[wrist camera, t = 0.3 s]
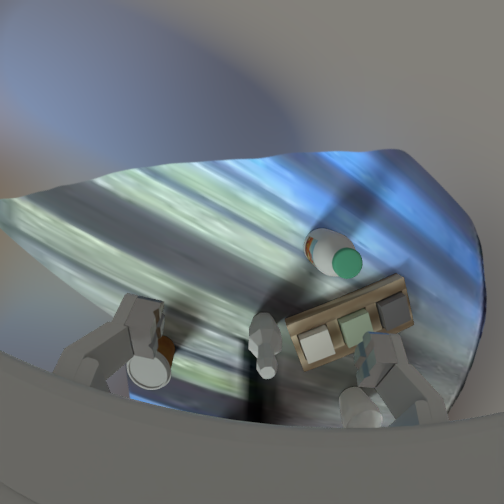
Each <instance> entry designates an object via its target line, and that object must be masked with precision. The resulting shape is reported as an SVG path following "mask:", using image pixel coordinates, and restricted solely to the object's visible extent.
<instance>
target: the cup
mask: <svg viewBox="0 0 504 504" xmlns="http://www.w3.org/2000/svg"><path fill="white" fill-rule="evenodd" d="M339 406H340V413H341V419H342V425H343V427H344V428H379V427H381V425H382V421H383V418H382V415H381V413H380V411H379V408H378V407H377V405H376V404H375V403H374V402H373V401H372V400H371V399H370V398H369V397H368V396H367V395H366V394H365V392H364V391H363V390H362V389H361V388H359V387H350V388H348V389H346V390H344V391H343V392H342V393H341V395H340V396H339Z"/></svg>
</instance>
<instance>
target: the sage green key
mask: <svg viewBox="0 0 504 504" xmlns="http://www.w3.org/2000/svg"><path fill="white" fill-rule="evenodd" d="M337 320H338V323H339V326H340V329H341V332H342V336H343V339H344V341H345V343H346V344H347V346H348V347H349V348H351V347H353V346H355V345H358V344H359V343H360V342H362V341H363V338H362V337H363V335H364V334H365V333H366V332H367V331H369V332H373V328H372V324H371V321H370V317H369V313H368V312H367V311H366V310H365V309H364V308H362V309H359V310H357V311H355V312H352V313H350V314H347V315H345V316H343V317H340V318H338V319H337Z"/></svg>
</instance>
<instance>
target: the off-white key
mask: <svg viewBox="0 0 504 504" xmlns="http://www.w3.org/2000/svg"><path fill="white" fill-rule="evenodd" d="M298 337H299V340H300V343H301V345H302V348H303V351H304V353H305V356H306V359H307V361H308V364H310V363H313V362H316V361H318V360H321V359H323V358H326V357H328V356H331V355H334V354H336V353H335V350H334V347H333V344H332V341H331V338H330V335H329V332H328V329H327V327H326V326H325V324H323V325H320V326H318V327H315V328H313V329H310V330H308V331H305V332H302V333H300V334H298Z"/></svg>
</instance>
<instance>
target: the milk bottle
mask: <svg viewBox="0 0 504 504" xmlns="http://www.w3.org/2000/svg"><path fill="white" fill-rule="evenodd" d="M304 253H305V255H306V257H307V259H308V260H309V261H310V262H311V263H312V264H313V265H314V266H315V267H316V268H317V269H318V270H319V271H321V272H322V273H323V274H325V275H328V276H332V277H338V276H340V277H342V278H345V279H349V278H353V277H355V276H356V275H357V274H358V273H359V272H360V270H361V268H362V258H361V255H360V254H359V253H358V252H357V251H356V250H355V247H354V245H353V243H352V242H351V241H350V240H349V239H348V238H347V237H346V236H344V235H342V234H340V233H338V232H335V231H332V230H329V229H325V228H319V229H315V230H313V231H312V232H310V233H309V234H308V236H307V237H306V239H305V241H304Z"/></svg>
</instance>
